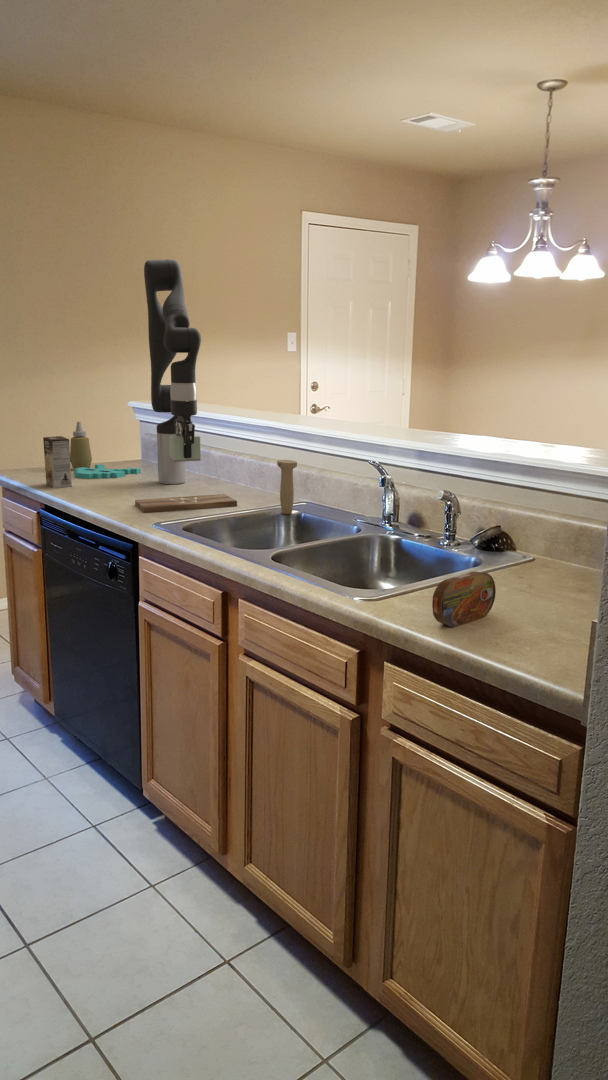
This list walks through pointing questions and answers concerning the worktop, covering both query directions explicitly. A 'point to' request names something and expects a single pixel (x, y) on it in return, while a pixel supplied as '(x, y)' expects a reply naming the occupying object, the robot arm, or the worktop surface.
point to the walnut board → (185, 503)
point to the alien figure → (103, 472)
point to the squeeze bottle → (80, 449)
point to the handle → (286, 485)
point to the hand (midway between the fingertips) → (185, 456)
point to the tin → (463, 598)
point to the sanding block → (178, 449)
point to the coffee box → (57, 461)
